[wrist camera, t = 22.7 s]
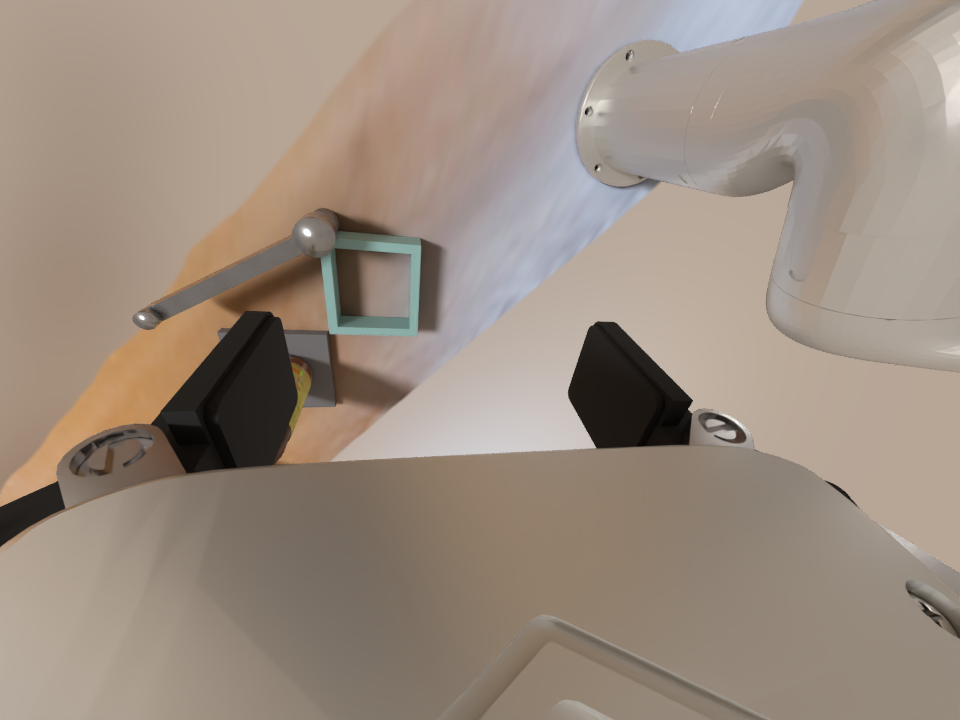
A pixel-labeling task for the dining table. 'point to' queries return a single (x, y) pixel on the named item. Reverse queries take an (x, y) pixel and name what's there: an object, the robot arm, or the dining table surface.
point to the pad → (311, 363)
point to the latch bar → (245, 269)
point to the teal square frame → (330, 280)
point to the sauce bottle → (303, 386)
